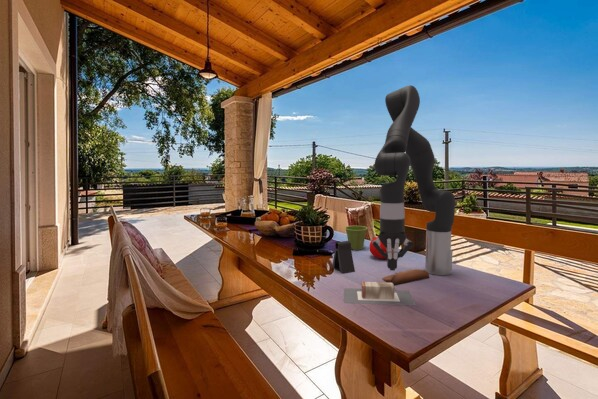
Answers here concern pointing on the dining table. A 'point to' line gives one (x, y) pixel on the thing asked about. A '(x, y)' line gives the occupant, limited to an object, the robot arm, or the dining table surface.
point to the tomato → (375, 251)
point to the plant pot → (356, 236)
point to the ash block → (378, 290)
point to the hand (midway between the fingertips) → (392, 269)
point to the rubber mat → (399, 299)
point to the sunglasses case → (406, 276)
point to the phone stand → (343, 257)
